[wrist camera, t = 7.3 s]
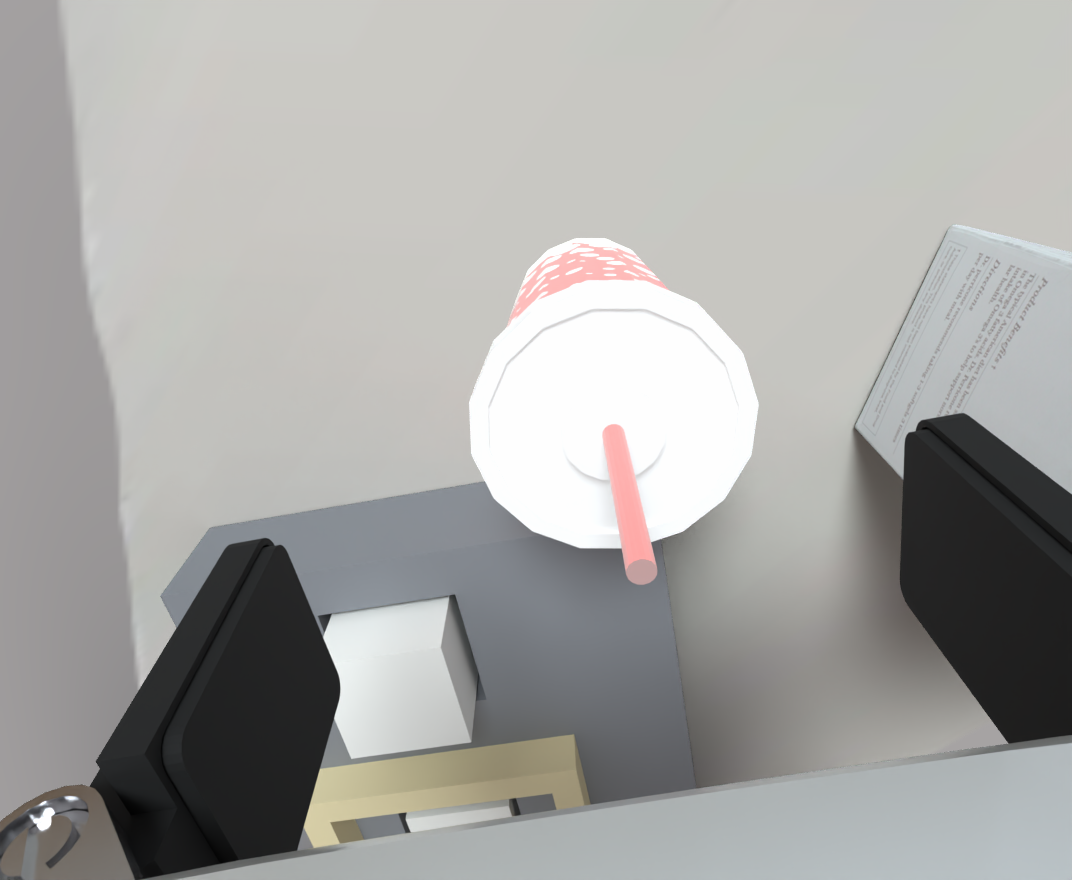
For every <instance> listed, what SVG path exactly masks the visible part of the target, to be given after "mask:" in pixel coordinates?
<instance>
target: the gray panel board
mask: <svg viewBox="0 0 1072 880" xmlns="http://www.w3.org/2000/svg"><path fill="white" fill-rule="evenodd" d="M261 538H268V539H270V540H271V541H272V542H273V543H274V545H282V546H284V548H285V549H286V550H287V552H288V554H289V557H290V559H291V562H292V564H293V566H294V569H295V571H296V574H297V576H298V578H299V581H300V583H301V586H302V588H303V590H304V593H305V595H306V598H307V600H308V602H309V605H310V607H311V610H312V612H313V614H314V617H315V619H316V622H317V624H318V626H319V629H320V631H321V634H322V636H324V634H325V631H326V628H327V626H328V623H329V621H330V618H331V615H332V613H338V612H345V611H351V610H358V609H364V608H370V607H377V606H383V605H390V604H396V603H403V602H409V601H415V600H422V599H428V598H435V597H441V596H448V595H454V594H455V596H456V599H457V602H458V606H459V609H460V612H461V616H462V619H463V622H464V626H465V629H466V632H467V636H468V639H469V642H470V646H471V649H472V652H473V656H474V659H475V663H476V666H477V669H478V681H477V691H476V701H475V711H474V721H473V731H472V741H471V742H470V743H463V744H456V745H448V746H441V747H434V748H426V749H419V750H412V751H405V752H397V753H390V754H383V755H375V756H368V757H361V758H354V759H351V757H350V755H349V752H348V750H347V747H346V745H345V743H344V740H343V738H342V736H341V733H340V731H339V729H338V726H337V724H336V722H335V719H334V721H333V724H332V728H331V731H330V735H329V738H328V742H327V746H326V749H325V753H324V756H323V760H322V763H321V767H320V771H319V774H318V778H317V781H316V785H315V788H314V792H313V796H312V799H311V803H310V806H309V810H308V813H307V817H306V821H305V824H304V828H303V831H302V835H301V838H300V842H299V846H298V849H297V851H298V850H304V849H310V848H316V847H322V846H328V845H335V844H341V843H348V842H354V841H360V840H367V839H373V838H379V837H386V836H392V835H398V834H405V833H411V832H410V829H409V827H408V824H407V822H406V814H407V812H413V811H421V810H428V809H436V808H444V807H451V806H459V805H467V804H475V803H482V802H490V801H498V800H505V799H513V798H516V800H517V803H518V806H519V810H520V813H521V815H526V814H533V813H539V812H546V811H552V810H559V809H565V808H572V807H579V806H585V805H592V804H598V803H605V802H611V801H618V800H625V799H631V798H638V797H644V796H651V795H658V794H664V793H671V792H678V791H684V790H691V789H696V782H695V775H694V768H693V761H692V754H691V747H690V740H689V733H688V726H687V719H686V712H685V705H684V698H683V691H682V684H681V677H680V670H679V663H678V656H677V649H676V642H675V635H674V628H673V621H672V613H671V606H670V599H669V592H668V585H667V578H666V571H665V564H664V557H663V550H662V543H661V539H659V540H656V541H653V542H651V545H652V549H653V553H654V557H655V561H656V566H657V576H656V577H655V579H654V580H653V581H651V582H650V583H647V584H644V585H637V584H635V583H632V582H631V581H630V580H629V579H628V577H627V575H626V570H625V565H624V559H623V553H622V548H578V547H575V546H573V545H570V544H567V543H564V542H561V541H558V540H556V539H553V538H550V537H547V536H544V535H541V534H539V533H536V532H533V531H531V530H530V529H529V528H528V527H527V526H525V525H524V524H523V523H522V522H521V521H519V520H518V519H517V518H516V517H515V516H514V515H512V514H511V513H510V512H509V511H508V510H507V509H505V508H504V507H503V506H502V505H501V504H499V503H498V502H497V501H496V500H495V499H494V498H493V496H492V494H491V492H490V490H489V488H488V486H487V484H486V482H480V483H474V484H468V485H462V486H456V487H450V488H444V489H438V490H432V491H426V492H420V493H414V494H408V495H403V496H397V497H391V498H385V499H379V500H373V501H367V502H361V503H355V504H349V505H343V506H337V507H331V508H325V509H319V510H313V511H307V512H301V513H295V514H290V515H284V516H278V517H272V518H266V519H260V520H254V521H248V522H242V523H236V524H230V525H224V526H218V527H212V528H209V530H208V531H207V533H206V534H205V535H204V537H203V538H202V539H201V541H200V542H199V544H198V545H197V546H196V548H195V549H194V550H193V552H192V553H191V555H190V556H189V557H188V559H187V560H186V561H185V563H184V564H183V566H182V567H181V568H180V570H179V571H178V572H177V574H176V575H175V577H174V578H173V579H172V581H171V582H170V583H169V585H168V586H167V588H166V589H165V590H164V592H163V593H162V595H161V596H160V597H161V598H162V600H163V602H164V604H165V606H166V608H167V610H168V612H169V614H170V616H171V618H172V620H173V622H174V624H175V626H176V628H177V627H178V625H179V624H180V622H181V620H182V619H183V617H184V615H185V614H186V612H187V610H188V609H189V607H190V605H191V604H192V602H193V600H194V599H195V597H196V595H197V594H198V592H199V591H200V589H201V587H202V586H203V584H204V582H205V581H206V579H207V577H208V576H209V574H210V572H211V571H212V569H213V567H214V566H215V564H216V563H217V561H218V559H219V558H220V556H221V554H222V553H223V551H224V549H225V548H226V547H227V546H228V545H230V544H233V543H239V542H245V541H250V540H256V539H261Z"/></svg>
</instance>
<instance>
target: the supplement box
mask: <svg viewBox="0 0 1072 880" xmlns="http://www.w3.org/2000/svg"><path fill="white" fill-rule="evenodd" d="M958 413H965V414H967V415H969V416H970V417H971V418H973V419H974V420H975V421H977V422H978V423H979V424H981V425H982V426H983V427H984V428H986V429H987V430H988V431H990V432H991V433H992V434H994V435H995V436H996V437H998V438H999V439H1000V440H1001V441H1003V442H1004V443H1005V444H1007V445H1008V446H1009V447H1011V448H1012V449H1013V450H1015V451H1016V452H1017V453H1018V454H1020V455H1021V456H1022V457H1024V458H1025V459H1026V460H1028V461H1029V462H1030V463H1031V464H1033V465H1034V466H1035V467H1037V468H1038V469H1039V470H1041V471H1042V472H1043V473H1045V474H1046V475H1047V476H1048V477H1050V478H1051V479H1052V480H1054V481H1055V482H1056V483H1058V484H1059V485H1060V486H1062V487H1063V488H1064V489H1065V490H1067V491H1068V492H1069V493H1071V494H1072V253H1071V252H1068V251H1064V250H1060V249H1056V248H1052V247H1048V246H1044V245H1040V244H1036V243H1032V242H1028V241H1024V240H1020V239H1016V238H1012V237H1008V236H1004V235H1000V234H996V233H992V232H988V231H984V230H980V229H976V228H972V227H967V226H961V225H951V226H950V228H949V229H948V231H947V233H946V236H945V238H944V240H943V242H942V244H941V246H940V248H939V251H938V253H937V255H936V257H935V259H934V261H933V263H932V265H931V267H930V269H929V271H928V273H927V275H926V278H925V280H924V282H923V284H922V286H921V288H920V290H919V292H918V295H917V297H916V299H915V301H914V303H913V305H912V307H911V309H910V311H909V314H908V316H907V318H906V320H905V322H904V324H903V326H902V328H901V330H900V333H899V335H898V337H897V339H896V341H895V343H894V345H893V347H892V349H891V352H890V354H889V356H888V358H887V360H886V362H885V364H884V366H883V368H882V371H881V373H880V375H879V377H878V379H877V381H876V383H875V385H874V387H873V390H872V392H871V394H870V396H869V398H868V400H867V402H866V404H865V406H864V409H863V411H862V413H861V415H860V417H859V419H858V421H857V423H856V425H855V428H856V429H857V431H858V432H859V433H860V434H861V435H862V436H863V437H864V438H865V439H866V440H867V441H868V442H869V444H870V445H871V446H872V447H873V448H874V449H875V450H876V451H877V452H878V453H879V454H880V456H881V457H882V458H883V459H884V460H885V461H886V462H887V463H888V464H889V465H890V466H891V467H892V468H893V470H894V471H895V472H896V473H897V474H898V475H899V476H900V477H901V478H902V480H903V474H904V444H905V438H906V435H907V434H908V433H909V432H914V431H916V427H917V425H918V423H919V422H920V421H921V420H925V419H930V418H936V417H941V416H947V415H953V414H958Z"/></svg>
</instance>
